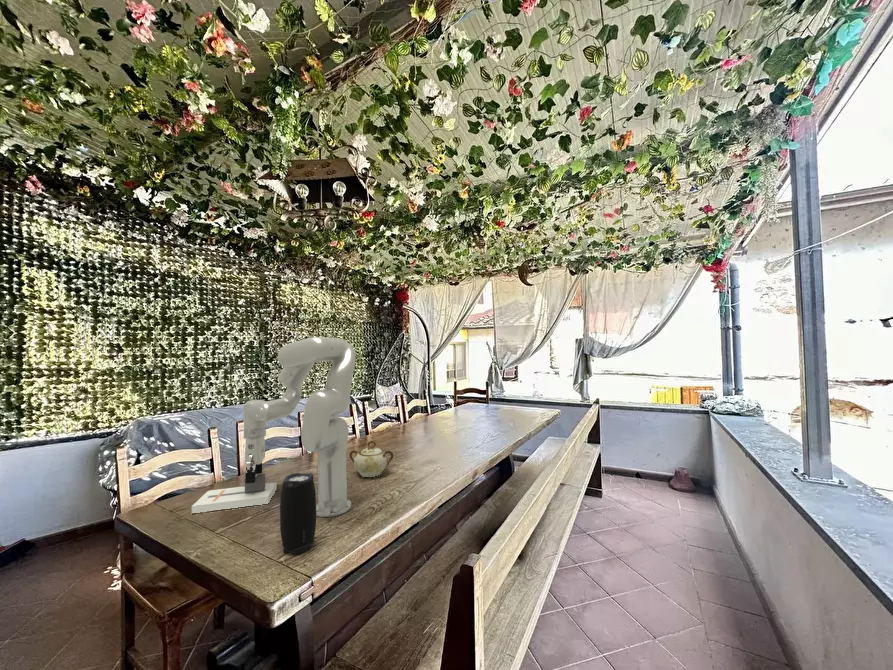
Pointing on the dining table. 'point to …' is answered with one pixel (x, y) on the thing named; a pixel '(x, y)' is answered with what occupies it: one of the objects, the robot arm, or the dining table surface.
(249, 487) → the fader tab
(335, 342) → the robot arm
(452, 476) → the dining table surface
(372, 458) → the sugar bowl
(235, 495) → the board
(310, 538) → the portable speaker
